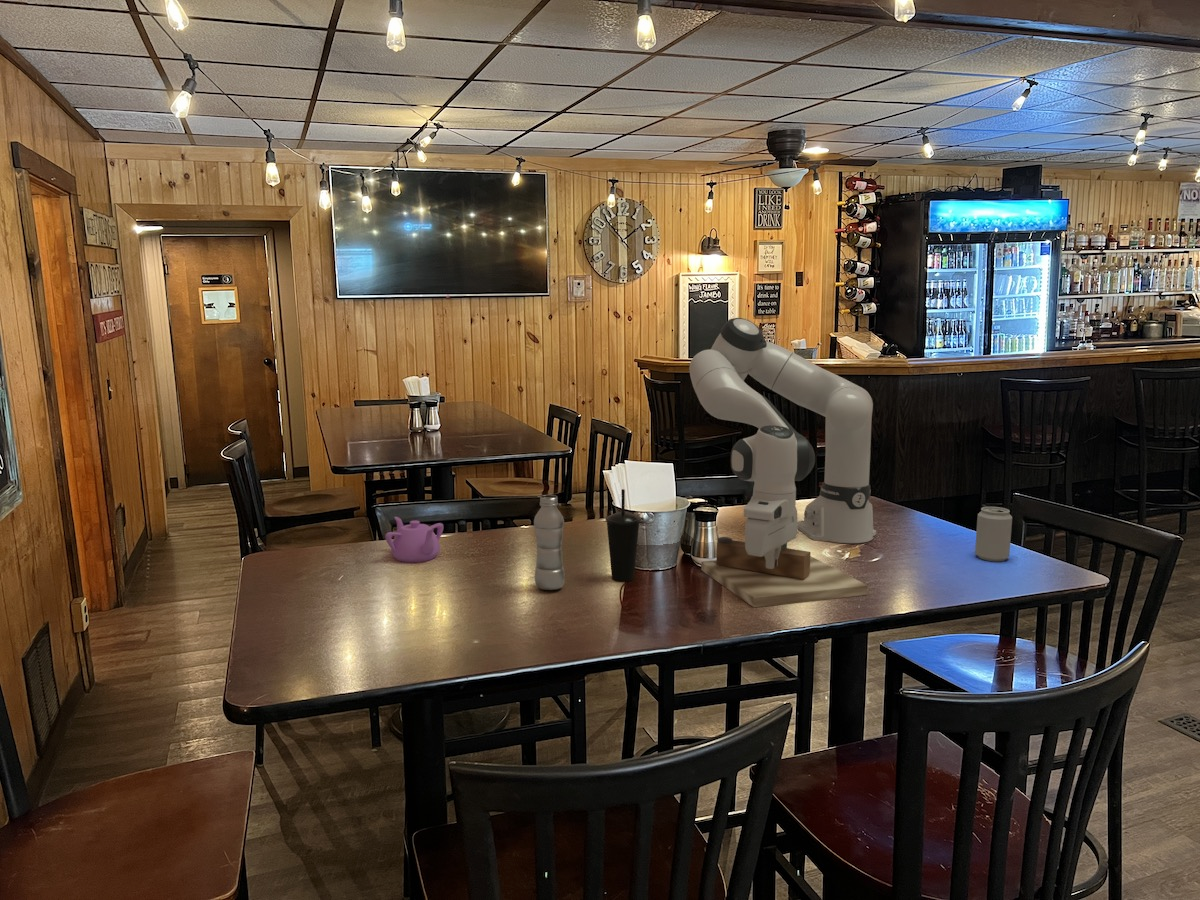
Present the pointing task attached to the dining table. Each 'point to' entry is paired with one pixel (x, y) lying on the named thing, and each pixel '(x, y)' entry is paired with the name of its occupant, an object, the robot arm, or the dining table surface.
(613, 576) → the drinking cup
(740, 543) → the walnut leg
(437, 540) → the teapot
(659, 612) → the dining table surface
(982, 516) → the can
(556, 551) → the plastic bottle
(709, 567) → the stool seat
